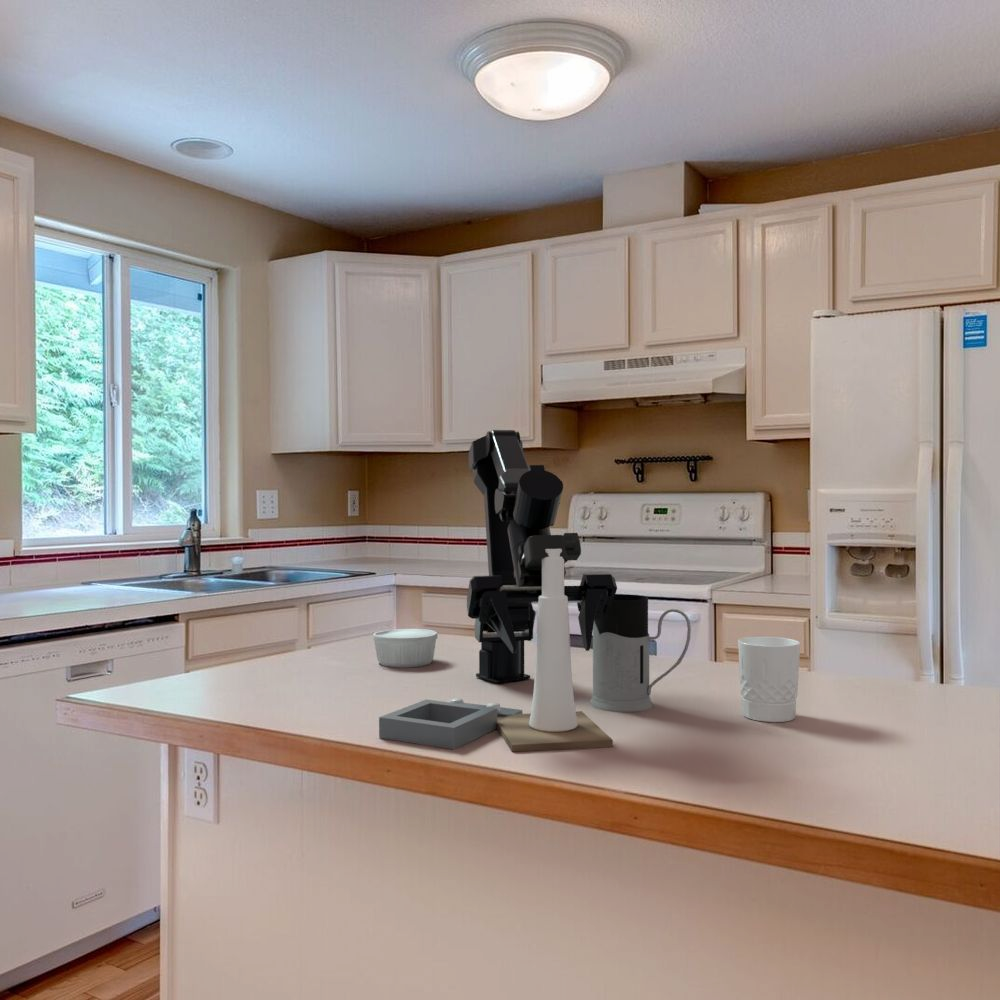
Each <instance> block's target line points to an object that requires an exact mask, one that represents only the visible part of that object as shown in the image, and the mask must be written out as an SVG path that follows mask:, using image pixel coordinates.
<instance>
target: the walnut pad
mask: <svg viewBox="0 0 1000 1000" xmlns="http://www.w3.org/2000/svg"><path fill="white" fill-rule="evenodd" d="M508 715H510V714H508ZM508 715H497V721H498V722H497V732H499V734H500V736H501V737H502V739H503V741H504V742H505V744H506V745H507V747H508V748H509V750H510V751H511V752H512V753H514V752H531V751H532V752H534V751H535V752H537V751H553V750H554V751H556V750H572V749H573V750H574V749H592V748H593V749H594V748H609V747H614V746H613V745H614V744H613V743H614V741H613V739H612V738H611V736H609V735H608V734H607V733H606V732H605V731H604V730H603V729H601V727H600V726H599V725H597V724H596V723H595V722H594V721H593V720H592V719H591V718H590V717H589V716H588V715H586V714H585V713H584V712H583V711H582V710H581V711H579V710H577V711H576V716H577V721H578V726H577V727H576V728H575V729H572V730H569V731H563V732H545V731H539V730H536V729H533V728H531V727H530V725H529V721H530V715H531V712H530V713H522V714H512V715H510V716H509V717H508ZM499 716H500V720H499ZM503 716H504V717H505V718H504V719H503ZM506 717H507V718H506Z"/></svg>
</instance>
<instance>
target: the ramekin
mask: <svg viewBox="0 0 1000 1000" xmlns="http://www.w3.org/2000/svg"><path fill="white" fill-rule="evenodd" d="M372 636H373V637H372V638H373V639H372V640H373V641H374V646H375V647H374V648H375V653H376V654H375V655H376V658H377V662H378V663H379V664H380V665H382V666H384V667H391V668H415V667H423V666H426V665H429V664H431V662H432V661H433V660H434V658H435V657H434V656H435V650H436V642H437V640H438V632H437V631H435V630H432V629H425V628H398V629H395V628H394V629H387V630H380V631H376V632H374V633H373V635H372Z"/></svg>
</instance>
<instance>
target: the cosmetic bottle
mask: <svg viewBox="0 0 1000 1000" xmlns="http://www.w3.org/2000/svg"><path fill="white" fill-rule="evenodd" d="M545 551H546V553H548V556H549V557H545V558H543V559H542V595H540V596H539V598H538V603H537V618H536V620H537V621H536V642H535V643H536V645H535V664H534V665H535V667H534V681H533V682H534V683H533V695H532V701H531V711H530V713H531V715H530V721H529V725H530V727H531V728H533V729H536V730H539V731H545V732H563V731H569V730H572V729H575V728H576V727H577V726H578V721H577V716H576V705H575V703H576V702H575V697H574V696H575V695H574V686H573V685H574V684H573V674H572V673H573V672H572V656H571V655H572V654H571V653H572V652H571V637H570V635H571V634H570V632H571V631H570V617H569V616H570V613H569V612H570V611H569V603H568V597H567V596H566V595H564V586H565V578H564V566H565V564H564V559H563V557H559V556H560V553H561V552H562V549H545Z"/></svg>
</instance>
